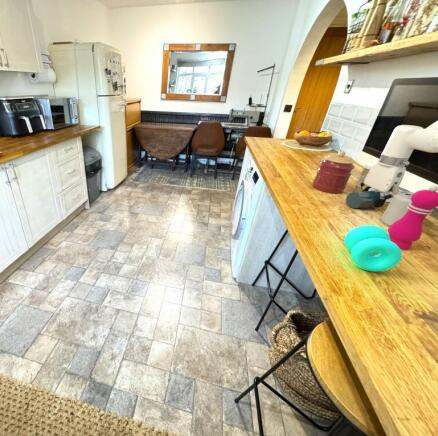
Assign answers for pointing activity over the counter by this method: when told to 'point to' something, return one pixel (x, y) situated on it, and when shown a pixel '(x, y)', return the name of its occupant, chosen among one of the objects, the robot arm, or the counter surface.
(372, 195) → the cup
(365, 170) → the sprinkles bottle
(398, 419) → the counter surface
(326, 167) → the kitchen canister
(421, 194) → the pepper mill
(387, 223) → the can
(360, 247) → the donuts
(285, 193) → the counter surface
